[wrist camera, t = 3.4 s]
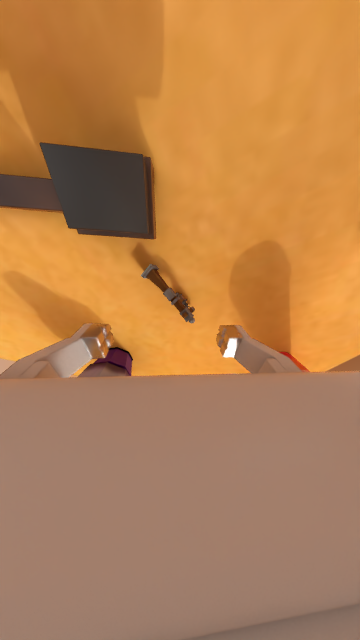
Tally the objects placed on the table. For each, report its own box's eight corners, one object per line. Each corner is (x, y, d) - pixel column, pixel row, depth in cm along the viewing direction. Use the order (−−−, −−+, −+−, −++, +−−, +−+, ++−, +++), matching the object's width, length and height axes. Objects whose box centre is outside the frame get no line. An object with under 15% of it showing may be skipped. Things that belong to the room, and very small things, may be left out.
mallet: (153, 167, 11) (147, 144, 8) (156, 238, 14) (151, 239, 11) (-71, 143, 10) (-169, 106, 7) (-17, 226, 13) (-72, 224, 10)
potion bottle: (95, 369, 26) (45, 454, 16) (89, 337, 21) (14, 429, 11) (139, 373, 27) (119, 454, 17) (142, 344, 22) (119, 432, 13)
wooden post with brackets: (192, 318, 19) (186, 329, 15) (156, 277, 18) (139, 275, 14) (202, 311, 18) (198, 319, 14) (164, 267, 18) (149, 263, 14)
